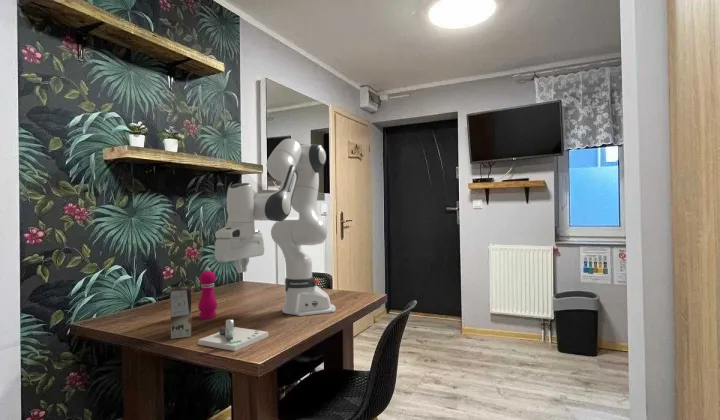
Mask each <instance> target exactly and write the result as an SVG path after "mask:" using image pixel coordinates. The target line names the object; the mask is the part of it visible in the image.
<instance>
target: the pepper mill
mask: <svg viewBox="0 0 720 420" xmlns="http://www.w3.org/2000/svg"><path fill="white" fill-rule="evenodd" d="M199 281H200V282H201V284H200V288H201V290H202V291H201V297H200V299H199V301H198V306H197V308H198V310H199V311H200V312H199V319H203V320H204V319H205V320H206V319H212V318H215V317H216V316H217V312H216V311H215V310H216V309H217V308H218V302H217V299H216V297H215V294H214V287H215V283H214V282H215V281H216V274H215V273H214V272H213V271H211V268H209V267H206V268H205V271H203V272H201V273H200V275H199Z"/></svg>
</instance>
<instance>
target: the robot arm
mask: <svg viewBox="0 0 720 420" xmlns="http://www.w3.org/2000/svg"><path fill="white" fill-rule="evenodd" d="M326 161H327V153H326V150H325V148H324V147H323V145H321V144H316V143H312V144H305V143H304V144H300V143H299V142H298V141H297V140H295V139H293V138H285V139H283V140H281V141H280V142H279V144H278V145H276V147H275V148H274V149H273V150H272V152H271V153H270V155H269V157H268V158H267V161H266V169H267V170H266V171H267V172H268V174H269V175H270V177H272V178H273V179H274V180H276V181H279V182H281V183H280V186H279V189H278V190H276V191H274V192H267V193H264V192H263V193H259V192H257V191H255V190H254V189H253V186H252V184H251V183H249V182H241V183H234V184H231V185H229V186H228V189H227V193H226V212H227V221H226V226H224V227H222V228H220V229H218V230H217V231H215V233H214V234H215V235H214V236H215V238H216V240H215V243H214V259H215V260H216V262H218V263H226V262H227V263H228V262H233V263H234V266H235V267H236V273H238V274H241V273H245V272H247V271H248V265H249V263H250V258H256V257H260V256H264V254H265V244H264V238H263V233H262V232H261V231H260V230H259V229H255V221H262V222H263V221H271V222H274V223H273V225H272V227H271V230H270V235H271V239H272V240H273V243H275V244H277V246H278V247H279V248H280V250H281V252H282V254H283V258H284V261H285V263H284V264H285V278H284V290H285V296H284V297H285V298H284V303H283V308H282V312H283V313H284V314H285V315H286V314H287V315H294V316H299V317H301V316H302V317H304V316H310V315H311V316H312V315H319V314H328V313H334V312H335V311H337V310H336V309H337V307H336V306H335V305H334V304H333V303H331V300H330V296H329V294H328V293H327V291H325V290H323V289H322V288H320V287H319V286H318V284H319V282H320V281H319V279H318V278H316V277H314V276H313V261H312V258H311V257H310V256H309V254H306V253H305V252H304V251H303V249H302V246H317V245H320V244H323V243H324V242H325V240H326V239H327V236H328V228H327V225H326V224H325V223H324V222H323V221H322V220H321V219H320V217H319V215H318V212H317V204H318V203H317V202H318V194H319V189H320V188H319V187H320V184H319V183H320V177H319V176H320V175H319V173H320V172H321V171H322V168H323V167H324V166H325V164H326ZM291 209H293V210H294V211H295V212H297V213H298V215H299V216H298V219H287V218H288V217H289V216H290V214H291Z"/></svg>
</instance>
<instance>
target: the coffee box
mask: <svg viewBox="0 0 720 420" xmlns="http://www.w3.org/2000/svg"><path fill="white" fill-rule="evenodd" d="M190 337H192V285H180V286H172V287H171V289H170V339H171V340H172V339H180V338H181V339H182V338H190Z"/></svg>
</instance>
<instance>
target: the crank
mask: <svg viewBox="0 0 720 420" xmlns="http://www.w3.org/2000/svg"><path fill="white" fill-rule="evenodd" d="M234 321H235V320H234V319H233V318H232V319H231V318H230V319H229V318H228V319H226V320H225V326H224V327H219V331H218V332H219V334H220V335H225V337H226V340H233V337H234V327H235V323H234Z"/></svg>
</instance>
